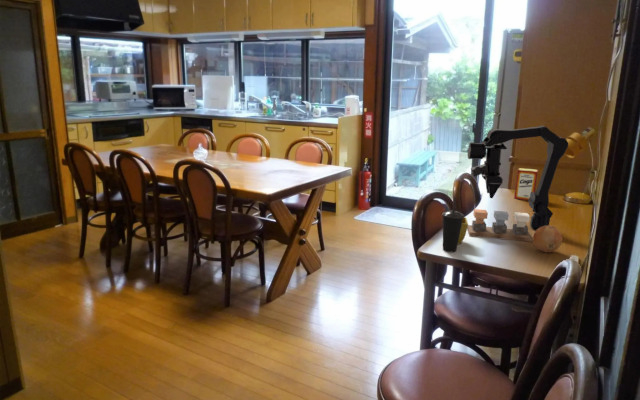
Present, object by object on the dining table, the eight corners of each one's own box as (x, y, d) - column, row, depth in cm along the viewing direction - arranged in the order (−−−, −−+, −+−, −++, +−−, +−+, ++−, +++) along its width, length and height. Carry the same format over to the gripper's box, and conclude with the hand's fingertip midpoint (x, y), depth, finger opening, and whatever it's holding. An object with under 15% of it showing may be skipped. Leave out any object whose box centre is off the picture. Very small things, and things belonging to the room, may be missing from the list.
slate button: (504, 224, 195) (506, 211, 194) (506, 227, 191) (508, 214, 189) (492, 223, 196) (494, 210, 195) (494, 226, 192) (496, 213, 190)
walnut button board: (526, 233, 197) (528, 223, 196) (532, 241, 188) (534, 230, 186) (466, 228, 201) (468, 218, 200) (469, 235, 192) (470, 225, 191)
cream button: (525, 225, 194) (527, 213, 192) (528, 229, 189) (530, 216, 188) (513, 224, 195) (514, 212, 193) (515, 228, 190) (517, 215, 189)
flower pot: (465, 246, 180) (468, 223, 177) (441, 244, 181) (444, 221, 179) (463, 239, 188) (466, 217, 186) (441, 236, 190) (443, 215, 187)
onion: (551, 246, 182) (555, 221, 180) (565, 256, 173) (569, 230, 170) (526, 246, 182) (530, 221, 179) (539, 255, 172) (543, 229, 170)
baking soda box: (514, 198, 256) (518, 169, 252) (514, 195, 261) (518, 167, 257) (533, 200, 252) (537, 171, 248) (533, 198, 258) (538, 169, 254)
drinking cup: (436, 246, 179) (441, 194, 174) (455, 246, 179) (461, 194, 174) (442, 253, 171) (448, 200, 166) (463, 253, 172) (469, 200, 167)
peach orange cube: (484, 222, 197) (486, 209, 195) (486, 225, 192) (487, 213, 191) (472, 221, 198) (474, 209, 196) (473, 224, 193) (475, 212, 192)
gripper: (471, 155, 210) (468, 189, 214) (475, 162, 192) (472, 199, 196) (497, 156, 207) (494, 190, 211) (504, 163, 190) (500, 201, 194)
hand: (489, 195), depth 203 cm, fingers open, 9 cm apart
